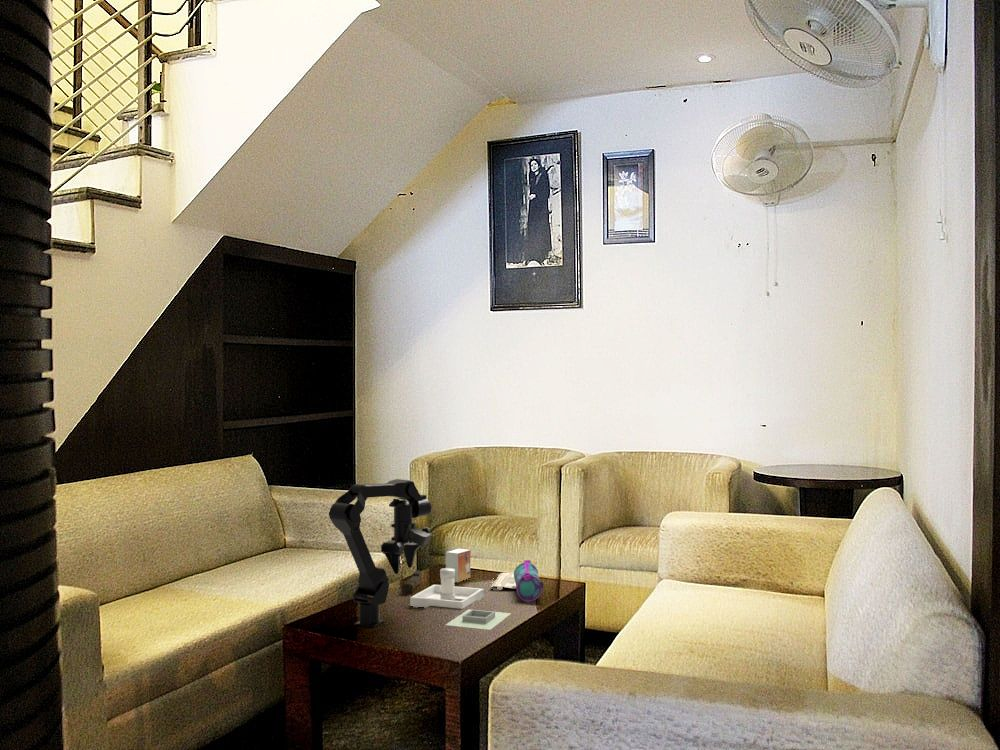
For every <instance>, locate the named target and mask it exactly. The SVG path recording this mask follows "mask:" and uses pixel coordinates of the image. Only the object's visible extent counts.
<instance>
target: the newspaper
mask: <svg viewBox="0 0 1000 750" xmlns="http://www.w3.org/2000/svg"><path fill="white" fill-rule="evenodd" d="M491 583H493V582H492V581H491ZM490 586H491V585H490ZM497 587H504V588H507V589H512V590H513V589H514V590H516V583H515V578H514V572H500V573H499V574H498V577H497V579H496V580H495V581H494V583H493V584H492V586H491V587H489V590H491V589H493V590H491V591H499V590H498V589H497Z"/></svg>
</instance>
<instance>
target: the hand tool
mask: <svg viewBox="0 0 1000 750" xmlns="http://www.w3.org/2000/svg"><path fill="white" fill-rule="evenodd" d="M421 582H422V571H421V570H419V569H418V570H415V571H414V572H413V573H412V576H411V577H410V578H409V580H407V581H406V582H405V583H402V585H401V587H400V588H401V589H400V590H401V594H402V595H412V594H413V592H414V590H415V589H416V588H417V587H418V586H420V585H421V584H422V583H421Z"/></svg>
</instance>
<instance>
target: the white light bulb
mask: <svg viewBox="0 0 1000 750" xmlns="http://www.w3.org/2000/svg"><path fill="white" fill-rule="evenodd" d="M439 576H440V577H439V578H440V585H441V592H440V599H443V600H454V601H456V598H455V592H454V586H455V582H454V578H455V569H454V568H446V567H444V568H443V567H442V568H440V570H439Z"/></svg>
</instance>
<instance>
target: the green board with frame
mask: <svg viewBox="0 0 1000 750" xmlns="http://www.w3.org/2000/svg"><path fill="white" fill-rule="evenodd" d="M511 614H512V613H510V612H500V611H492V610H491V611H490V610H479V609H466V611H463V612H462V614H460V615H458V616H456V617H455V618H453V619H452V620H450V621H448V623H446V624H445V626H450V627H459V628H470V629H480V630H486V631H487V630H488V631H491V630H492V629H494V628H495V627H496V626H498V624H500V623H501V622H502V621H503V620H505V619H507V618H508V617H509V616H510V615H511Z"/></svg>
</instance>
